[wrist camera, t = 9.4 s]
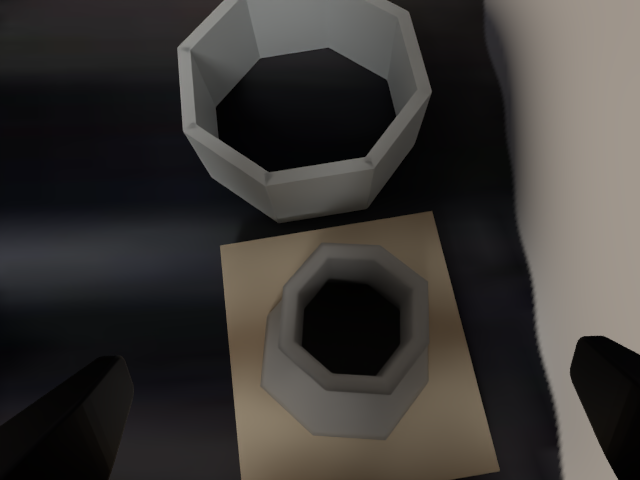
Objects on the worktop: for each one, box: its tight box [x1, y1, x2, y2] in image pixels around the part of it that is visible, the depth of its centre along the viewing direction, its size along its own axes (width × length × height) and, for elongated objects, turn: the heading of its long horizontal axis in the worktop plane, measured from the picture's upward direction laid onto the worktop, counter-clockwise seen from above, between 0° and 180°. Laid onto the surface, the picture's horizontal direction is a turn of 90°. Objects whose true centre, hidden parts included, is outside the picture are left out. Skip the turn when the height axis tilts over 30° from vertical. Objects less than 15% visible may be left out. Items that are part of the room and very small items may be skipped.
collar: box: [177, 0, 432, 223], centre depth 22 cm, size 11×11×4 cm
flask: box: [260, 243, 429, 440], centre depth 14 cm, size 7×7×10 cm
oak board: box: [220, 211, 500, 480], centre depth 19 cm, size 11×10×2 cm
